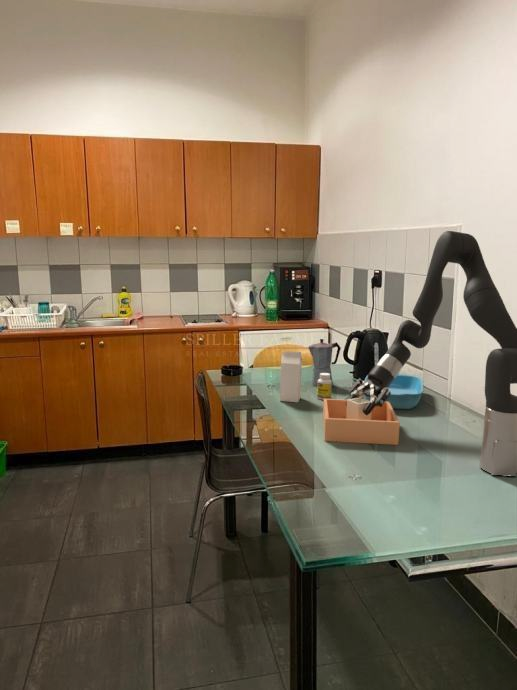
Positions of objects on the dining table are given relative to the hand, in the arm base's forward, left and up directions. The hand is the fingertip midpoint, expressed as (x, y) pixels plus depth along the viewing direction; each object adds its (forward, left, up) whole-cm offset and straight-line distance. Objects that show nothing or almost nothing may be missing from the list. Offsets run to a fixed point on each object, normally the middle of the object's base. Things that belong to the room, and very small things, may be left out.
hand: (355, 409), depth 170 cm
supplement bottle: (+37, +9, -7) cm, 39 cm away
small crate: (+1, -1, -6) cm, 6 cm away
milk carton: (+33, +22, -7) cm, 40 cm away
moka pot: (+58, +9, -7) cm, 59 cm away
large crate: (+1, -1, -7) cm, 7 cm away
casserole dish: (+41, -18, -8) cm, 45 cm away
